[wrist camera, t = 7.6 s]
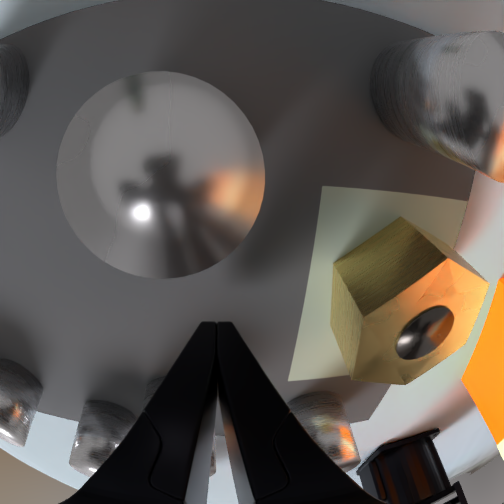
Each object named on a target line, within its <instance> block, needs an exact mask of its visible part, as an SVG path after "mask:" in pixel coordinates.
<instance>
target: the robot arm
mask: <svg viewBox="0 0 504 504" xmlns="http://www.w3.org/2000/svg"><path fill="white" fill-rule="evenodd" d="M218 397H219V405H220V411H221V416H222V422H223V428H224V433H225V439H226V444H227V449H228V454H229V459H230V464H231V469H232V474H233V479H234V484H235V488H236V493H237V497H238V502H239V504H434V503H436V502H438V501H440V500H442V499H444V498H446V497H447V496H449V495H451V494H453V493H455V492H456V493H457V496H456V497H455V498H453V499H451V500H449V501H447V502H445V503H444V504H468V503H467V501H466V498H465V496H464V493H463V490H462V488H461V485H460V483H459V481H457V482H456V483H454V484H453V486H451V485H450V482H449V480H448V477H447V474H446V472H445V469H444V467H443V465H442V462H441V460H440V457H439V455H438V453H437V450H436V448H435V446H434V443H433V441H432V440H433V439H434V438H435V437H436V436H437V435H438V434H439V433H440V430H439V428H437V429H434V430H431V431H429V432H426V433H423V434H420V435H417V436H414V437H411V438H408V439H405V440H402V441H399V442H395V443H392V444H388V445H385V446H382V447H380V448H379V449H378V450H377V451H376V452H375V453H374V454H373V455H372V456H371V457H370V458H369V459H368V460H367V461H366V462H365V463H364V464H363V465H362V466H361V467H360V468H359V469H358V470H357V471H356V473H357V475H360V479H361V482H362V486H363V489H362V488H361V487H360V486H359V485H358V484H357V483H356V482H355V481H354V480H353V479H351V478H350V477H349V476H348V475H347V474H346V473H345V472H344V471H343V470H342V469H341V468H340V467H339V466H338V465H337V464H336V463H335V462H334V461H333V460H332V459H331V458H330V457H329V456H328V455H327V454H326V453H325V452H324V451H323V450H322V449H321V448H320V446H319V445H318V444H317V443H316V442H315V441H314V440H313V439H312V438H311V436H310V435H309V434H308V432H307V431H306V430H305V429H304V427H303V426H302V425H301V423H300V422H299V421H298V419H297V418H296V416H295V415H294V414H293V412H290V411H291V410H290V408H289V407H288V405H287V404H286V402H285V401H284V399H283V398H282V397H281V395H280V394H279V392H278V391H277V389H276V388H275V386H274V385H273V383H272V382H271V380H270V379H269V377H268V376H267V374H266V373H265V371H264V370H263V368H262V367H261V365H260V364H259V362H258V361H257V359H256V358H255V356H254V355H253V353H252V352H251V350H250V349H249V347H248V346H247V344H246V342H245V341H244V339H243V338H242V336H241V335H240V333H239V332H238V330H237V328H236V327H235V325H234V324H233V322H231V321H218V322H217V324H216V322H215V321H202V322H201V323H200V324H199V325H198V327H197V328H196V330H195V331H194V333H193V335H192V336H191V338H190V339H189V341H188V342H187V344H186V345H185V347H184V348H183V350H182V351H181V353H180V354H179V356H178V357H177V359H176V361H175V362H174V364H173V365H172V367H171V368H170V370H169V371H168V373H167V374H166V376H165V377H164V379H163V381H162V382H161V384H160V385H159V387H158V388H157V390H156V391H155V393H154V394H153V396H152V397H151V399H150V401H149V402H148V404H147V405H146V407H145V408H144V412H142V413H141V414H140V416H139V417H138V419H137V420H136V422H135V423H134V425H133V426H132V428H131V429H130V431H129V432H128V433H127V435H126V436H125V438H124V439H123V440H122V441H121V443H120V444H119V445H118V446H117V448H116V449H115V450H114V451H113V452H112V454H111V455H110V456H109V457H108V458H107V459H106V460H105V462H104V463H103V464H102V465H101V466H100V467H99V468H98V469H97V471H96V472H95V473H94V474H93V475H92V476H91V477H90V478H89V480H88V481H87V482H86V483H85V484H84V485H83V486H82V487H81V488H80V489H79V490H78V491H77V492H76V493H75V494H74V495H72V496H71V497H70V498H68V499H66V500H65V501H63V502H61V503H59V504H207V494H208V484H209V474H210V464H211V455H212V445H213V436H214V427H215V418H216V409H217V398H218ZM502 504H504V503H502Z"/></svg>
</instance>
